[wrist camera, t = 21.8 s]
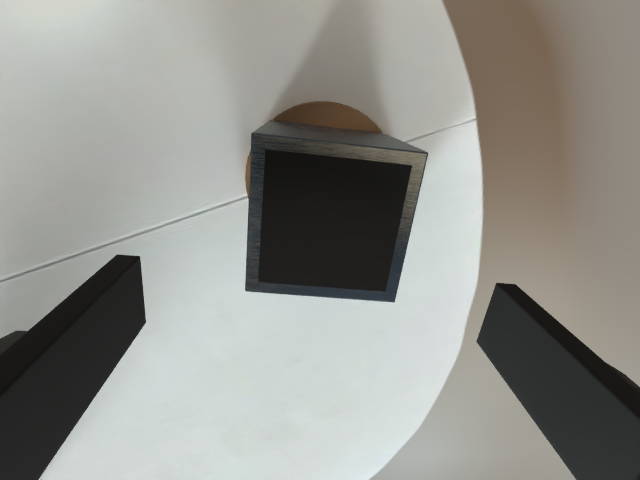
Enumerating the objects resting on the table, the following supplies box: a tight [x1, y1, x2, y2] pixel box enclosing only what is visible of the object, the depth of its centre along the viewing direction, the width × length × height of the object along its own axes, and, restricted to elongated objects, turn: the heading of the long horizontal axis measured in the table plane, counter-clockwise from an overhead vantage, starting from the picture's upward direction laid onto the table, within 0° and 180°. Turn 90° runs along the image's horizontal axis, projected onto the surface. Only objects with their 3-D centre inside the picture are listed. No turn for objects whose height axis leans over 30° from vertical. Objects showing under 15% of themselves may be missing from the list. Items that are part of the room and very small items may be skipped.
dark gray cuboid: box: [245, 120, 428, 303], centre depth 27 cm, size 12×10×10 cm
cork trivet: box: [245, 102, 382, 198], centre depth 33 cm, size 14×14×1 cm
